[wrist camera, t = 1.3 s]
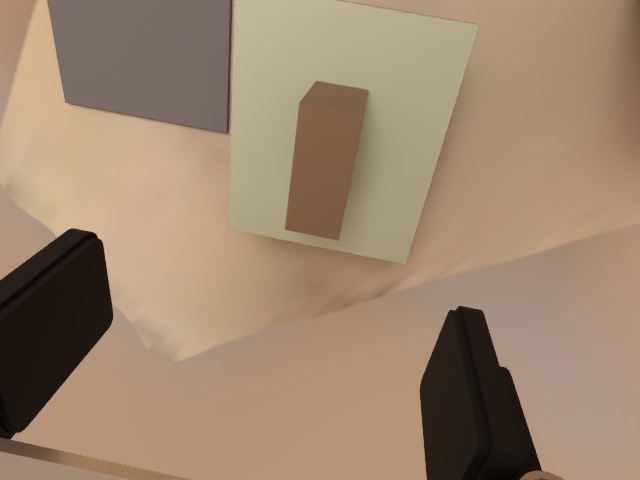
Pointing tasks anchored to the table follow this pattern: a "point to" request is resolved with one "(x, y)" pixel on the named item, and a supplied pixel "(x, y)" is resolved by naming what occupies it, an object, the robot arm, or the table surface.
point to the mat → (147, 58)
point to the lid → (339, 120)
